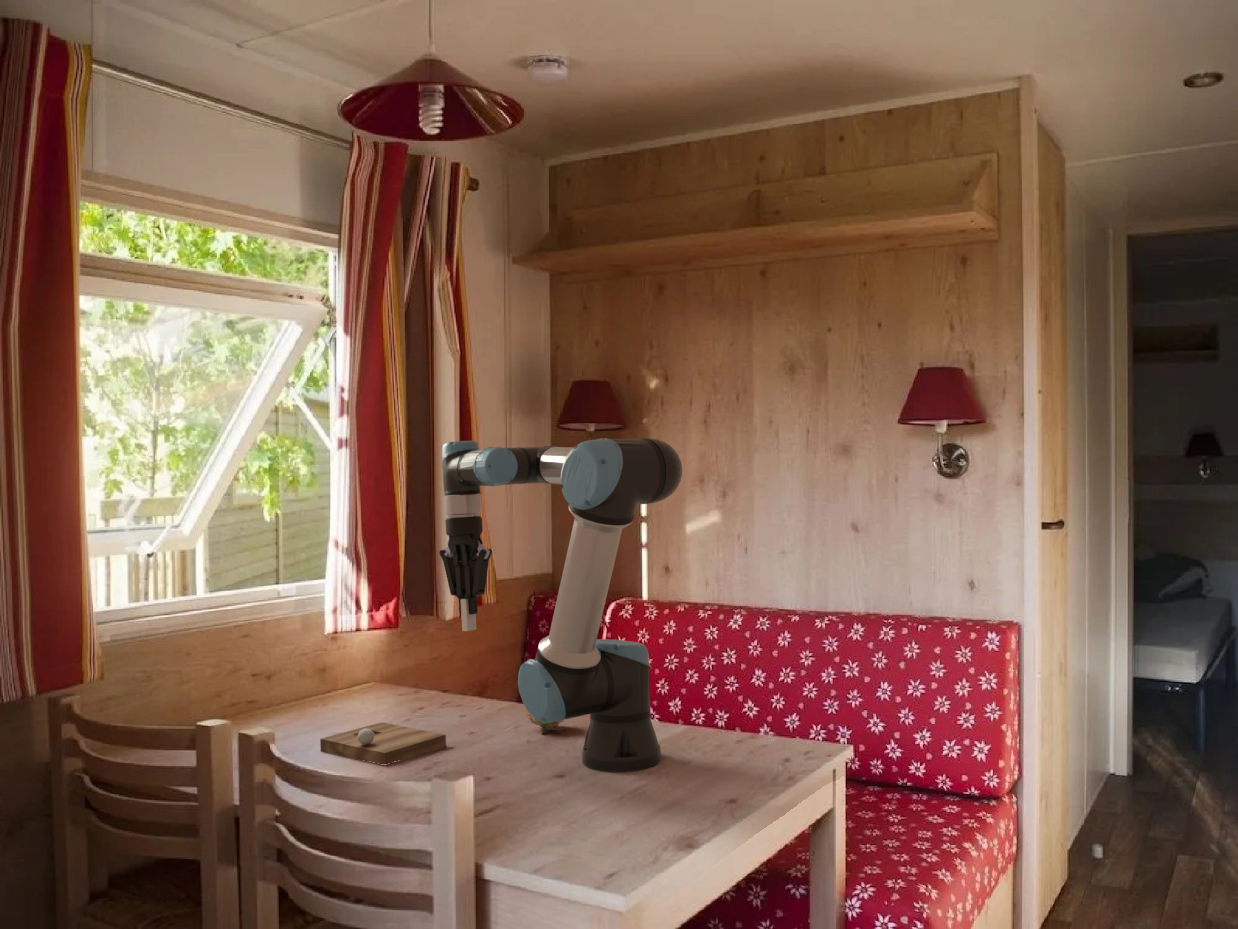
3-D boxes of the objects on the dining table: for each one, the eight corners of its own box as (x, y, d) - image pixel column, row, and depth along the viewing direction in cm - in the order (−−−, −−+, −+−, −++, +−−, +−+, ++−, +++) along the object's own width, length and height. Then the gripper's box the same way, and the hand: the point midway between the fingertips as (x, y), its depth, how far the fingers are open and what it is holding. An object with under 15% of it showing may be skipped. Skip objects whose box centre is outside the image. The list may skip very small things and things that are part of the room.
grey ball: (377, 744, 221) (377, 728, 221) (364, 747, 218) (364, 731, 218) (367, 742, 223) (366, 726, 223) (354, 745, 220) (353, 729, 220)
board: (446, 747, 227) (445, 734, 226) (385, 765, 214) (384, 753, 214) (381, 733, 239) (381, 722, 239) (320, 751, 226) (320, 738, 226)
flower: (564, 730, 231) (570, 694, 235) (520, 722, 231) (528, 686, 235) (562, 746, 239) (568, 711, 243) (520, 738, 239) (527, 703, 243)
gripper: (499, 514, 228) (505, 628, 227) (453, 515, 235) (459, 626, 235) (474, 516, 222) (480, 634, 221) (428, 517, 229) (433, 631, 229)
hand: (469, 630), depth 228 cm, fingers closed
